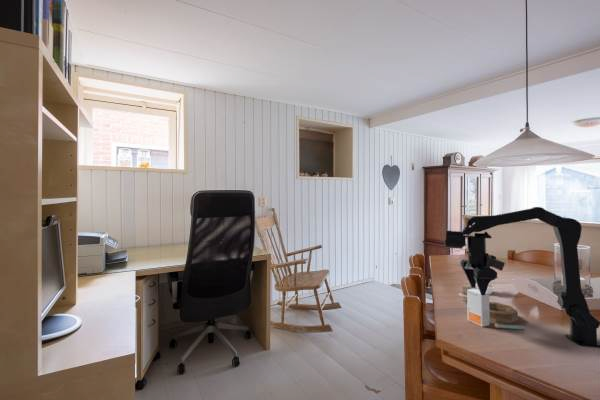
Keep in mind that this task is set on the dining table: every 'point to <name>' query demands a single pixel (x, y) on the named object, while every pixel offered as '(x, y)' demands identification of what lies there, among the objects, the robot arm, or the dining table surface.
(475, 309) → the skincare box
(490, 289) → the figurine
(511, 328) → the teal thin rod
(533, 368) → the dining table surface
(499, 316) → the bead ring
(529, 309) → the dining table surface
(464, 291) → the architectural model
